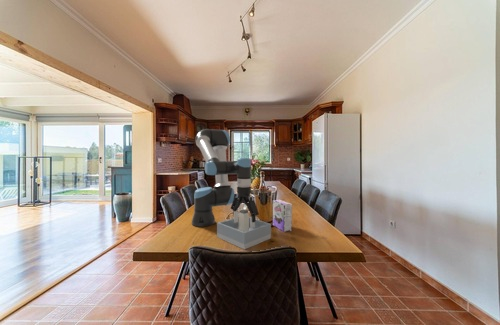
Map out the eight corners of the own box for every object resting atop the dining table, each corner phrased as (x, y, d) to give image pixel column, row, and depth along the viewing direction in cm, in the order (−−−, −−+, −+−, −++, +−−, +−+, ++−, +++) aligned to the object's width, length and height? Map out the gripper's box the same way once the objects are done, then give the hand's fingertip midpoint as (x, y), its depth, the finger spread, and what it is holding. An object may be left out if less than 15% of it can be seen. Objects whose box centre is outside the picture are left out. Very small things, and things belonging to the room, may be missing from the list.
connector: (238, 237, 118) (238, 210, 118) (243, 235, 121) (244, 209, 120) (243, 239, 115) (243, 211, 115) (248, 237, 118) (249, 210, 118)
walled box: (217, 237, 119) (217, 222, 119) (243, 228, 133) (243, 215, 133) (244, 249, 103) (244, 233, 103) (270, 238, 117) (271, 223, 117)
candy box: (272, 225, 140) (272, 200, 139) (280, 224, 142) (280, 199, 141) (283, 232, 127) (283, 204, 126) (292, 230, 129) (292, 203, 129)
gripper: (224, 184, 123) (224, 221, 124) (255, 189, 106) (255, 232, 107) (234, 183, 128) (234, 218, 129) (265, 188, 111) (265, 228, 112)
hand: (243, 225), depth 118 cm, fingers open, 12 cm apart
